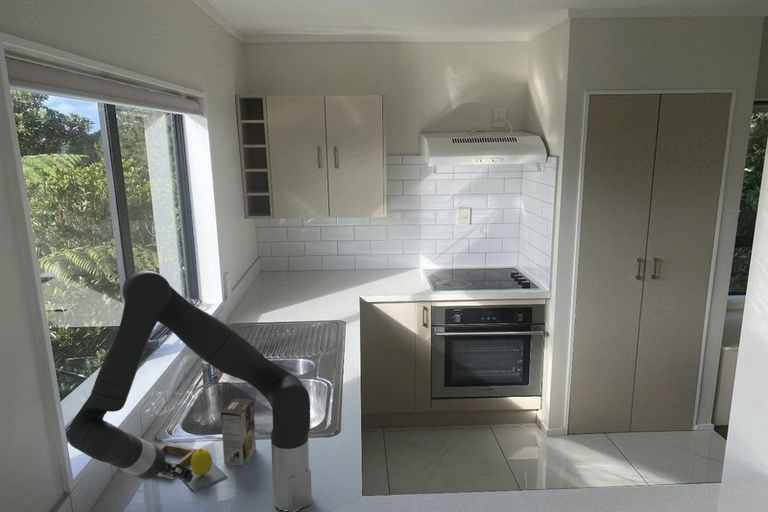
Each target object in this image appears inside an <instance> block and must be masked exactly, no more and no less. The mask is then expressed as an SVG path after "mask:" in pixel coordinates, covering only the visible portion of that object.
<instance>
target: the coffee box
mask: <svg viewBox="0 0 768 512" xmlns="http://www.w3.org/2000/svg"><path fill="white" fill-rule="evenodd" d="M254 411H255V409H254V400H253V399H245V398H232V400H231V401H230V402H229V403H228V404H227V405H226V407H224V409H222V411H221V412H220V415H221V416H220V418H221V419H220V421H221V434H222V451H223V463H224V464H225V465H226V464H227V465H236V466H245V464H246V463H247V462H248V460H249V459H250V457H252V455H253V454H254V452H255V451H256V450H257V449H256V448H257V445H256V442H257V441H256V429H255V428H256V425H255V424H256V423H255V412H254Z"/></svg>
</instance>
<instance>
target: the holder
mask: <svg viewBox="0 0 768 512" xmlns="http://www.w3.org/2000/svg"><path fill="white" fill-rule="evenodd" d="M159 448H161V449H162V450H163V452H164V455H165V456H166V454H169V455H175V456H181V457H182V458H181V459H179V460H178V461H177V462H176V464H180V465H181V466H184V467H186V468H187V467H188V466H189V465H191V458H192V455H193V454H194V453H195V452H196V451H197V450H198V449H197V448H193V447H187V446H181V445H178V444H171V443H167V442H166V443H164V444H162V445H161V446H160V447H159ZM172 467H174V466H173V465H172ZM171 474H172V471H170V472H169V474H167V475H171Z"/></svg>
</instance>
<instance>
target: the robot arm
mask: <svg viewBox="0 0 768 512" xmlns="http://www.w3.org/2000/svg"><path fill="white" fill-rule="evenodd" d="M122 297H123V300H124V303H123V311H122V315H121V321H120V324H119V327H118V329H117V333H116V335H115V337H114V340H113V342H112V344H111V346H110V348H109V350H108V352H107V353H106V356H105V357H104V360H103V362H102V363H101V366H100V368H99V371H98V374H97V376H96V379H95V381H94V385H93V387H92V389H91V392H90V395H89V396H88V398H87V399H86V401H85V402H84V403H83V405H82V406H81V408H80V410H78V412H77V414H76V415H75V417H74V418H73V419H72V421H71V423H70V425H69V427H68V431H67V432H68V433H67V440H68V443H69V444H70V446H71V447H72V448H74V449H76V450H78V451H80V452H82V453H83V454H84V455H86V456H88V457H90V458H92V459H94V460H96V461H99V462H102V463H107V464H109V465H112V466H114V467H116V468H119V469H120V470H121V471H122V472H125V473H127V474H128V475H129V474H130V475H132V476H135V477H136V478H140V479H142V480H149V479H152V478H154V477H156V476H157V477H164V478H167V479H171V480H174V479H178V480H180V481H183V482H184V481H185V482H188V483H190V481H191V480H192V477H193V474H192V473H191V472H192V470H191V469H192V468H188V467H187V466H186V467H184V466H181V465H180V464H176V463H177V462H176V463H175V462H172V461H170V460H169V459H167V458H166V454H165V455H164V452H163V450H162V449H161V448H160V447H159V446H156V445H155V444H153V443H152V442H149V441H147V440H145V439H142V438H140V437H137V436H135V435H133V434H131V433H129V432H126V431H124V430H122V429H121V428H119V427H117V426H116V425H114V424H112V423H110V422H108V421H106V420H104V417H105V416H106V414H107V412H111V413H112V412H119V411H121V410H122V409H123V408H124V407H125V405H126V401H127V400H128V397H129V394H130V392H131V389H132V387H133V383H134V381H135V377H136V375H137V371H138V368H139V366H140V363H141V360H142V357H143V354H144V351H145V349H146V347H147V344H148V342H149V339H150V337H151V335H152V334H153V330H154V329H155V328H156V325H157V323H160V324H162V325H163V326H164V327H166V328H167V329H168V330H170V331H171V332H172V333H173V334H174V335H175V336H176V337H177V338H178V339H180V341H182V343H183V344H184V345H185V346H187V347H188V348H189V350H191V351H193V353H194V354H196V356H198V357H199V358H200V359H202V360H203V361H205V362H206V363H207V364H209V365H210V366H212V367H213V368H215V369H217V370H218V371H219V372H221V373H223V374H225V375H228V376H230V377H233V378H236V379H240V380H242V381H244V382H246V383H248V384H249V385H251V386H252V387H253V388H254V389H256V390H257V391H258V392H259V393H260V394H261V395H262V396H263V397H264V398H265V399H266V400H267V401H268V402H269V404H270V407H271V410H272V429H271V432H270V445H271V447H270V449H271V467H272V469H271V470H272V492H273V494H272V495H273V505H275V506H274V507H275V508H276V507H277V508H278V509H281V510H288V511H290V512H294V511H296V510H298V509H300V508H303V507H305V508H307V507H308V505H309V506H310V505H312V503H313V499H312V498H313V495H312V493H313V492H312V470H311V469H310V455H309V453H310V452H309V451H310V449H309V433H310V429H311V398H310V394H309V391H308V389H306V387H305V385H304V384H303V382H302V381H301V380H300V379H299V377H298V376H297V375H294V374H292V373H291V372H290V371H287V370H286V369H284V368H282V367H280V366H279V365H277V364H276V363H274V362H272V361H271V360H270V359H268V358H267V357H265V356H264V355H263V353H261V352H260V351H259V350H258V349H257V348H256V347H254V345H253V344H251V343H250V342H249V341H248V340H246V339H245V337H243V336H242V335H241V334H239V333H238V332H236V331H235V330H234V329H233V328H231V327H230V326H228V325H227V324H226V323H224V322H223V321H221V320H219V319H218V318H216V317H214V316H213V315H211V314H210V313H208V312H206V311H204V310H202V309H200V308H199V307H197V306H195V305H194V304H192V303H191V302H190V301H188V300H187V299H186V298H184V296H182V295H181V294H180V293H179V292H178V291H177V290H176V289H174V288H173V286H171V285H170V282H169V281H168V280H167V278H165V277H164V276H163V275H161V274H160V273H158V272H156V271H154V270H149V269H147V270H146V269H143V270H138V271H135V272H133V273H131V274H129V276H128V277H127V278H125V280H124V282H123V286H122ZM172 466H174V467H172ZM170 471H172V474H171V475H167V474H169V472H170ZM185 482H184V483H185ZM306 506H307V507H306ZM277 508H276V509H277ZM278 509H277V510H278ZM303 509H304V508H303Z"/></svg>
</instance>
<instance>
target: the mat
mask: <svg viewBox="0 0 768 512" xmlns="http://www.w3.org/2000/svg"><path fill="white" fill-rule="evenodd" d="M190 469H191V470H192V468H190ZM191 473H192V474H193V477H192V480H191V481H190V483H188V482H186V483H187V484H188V485H189V486H190V487H191V489H192V490H193V491H194V490H197V489H199V490H201V489H203V488H202V487H204V488H205V486H206V487H208V486H210V484H211V485H213V484H215V483H218V482H220V481H222V480H224V478H225V479H227V478H228V475H227V474H226V473H225V472H224V471H223V470H222V469H221V468H219V466H217V464H216V463H215V462H214V461H212V466H211V469H210V470H209V472H208V473H206V474H204V475H203V476H201V475H197V474H195V473H194V472H193V471H192V472H191ZM226 477H227V478H226ZM221 479H222V480H221ZM219 480H220V481H219ZM217 481H218V482H217ZM186 483H185V484H186ZM212 483H213V484H212ZM187 484H186V485H187ZM188 485H187V486H188ZM207 485H208V486H207ZM200 488H201V489H200ZM191 489H190V490H191ZM192 490H191V491H192ZM193 491H192V492H193ZM197 491H198V490H197ZM194 492H195V491H194Z"/></svg>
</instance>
